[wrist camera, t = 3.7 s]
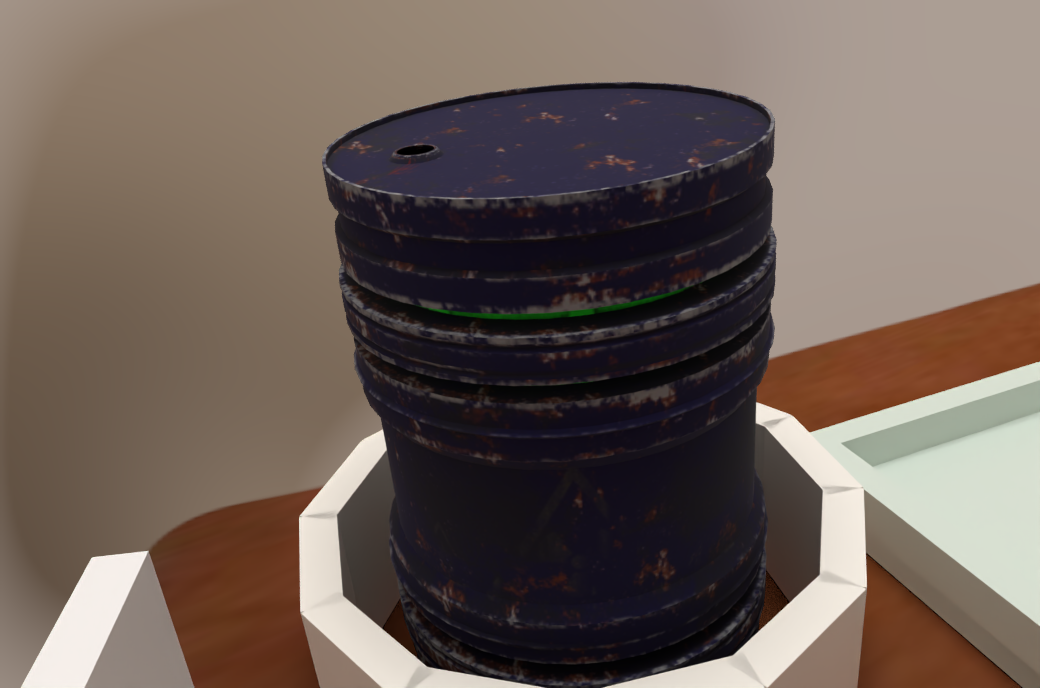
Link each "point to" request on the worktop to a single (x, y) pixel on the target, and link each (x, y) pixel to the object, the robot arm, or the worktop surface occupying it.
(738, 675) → the holder ring
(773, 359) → the worktop surface
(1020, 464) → the tray
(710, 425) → the rusty blue drum
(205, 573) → the worktop surface
